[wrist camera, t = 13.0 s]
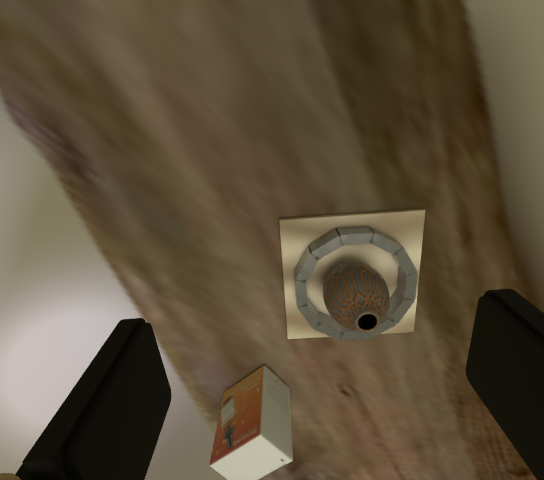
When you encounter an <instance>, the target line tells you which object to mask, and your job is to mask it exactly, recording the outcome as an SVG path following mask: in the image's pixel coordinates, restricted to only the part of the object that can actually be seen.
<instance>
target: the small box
mask: <svg viewBox="0 0 544 480" xmlns="http://www.w3.org/2000/svg"><path fill="white" fill-rule="evenodd" d="M292 461H293V454H292V433H291V411H290V389H289V387H288V386H287V385H286V384H285V383H284V382H282V381H281V380H280V379H279V378H278V377H277V376H276V375H275V374H274V373H273V372H271V371H270V370H269V369H268V368H267V367H266V366H265V365H263V366H261V367H260V368H259V369H257V370H256V371H255V372H253V373H252V374H250V375H249V376H247V377H246V378H244V379H243V380H241V381H240V382H238V383H237V384H235V385H234V386H232V387H231V388H229V389H227V390H226V391H224V393H223V398H222V403H221V408H220V413H219V418H218V424H217V429H216V434H215V439H214V445H213V449H212V455H211V460H210V466H211V467H212V468H213V469H215V470H216V471H217V472H219V473H220V474H221V475H222V476H224V477H225V478H226V479H228V480H258V479H260V478H262V477H263V476H265V475H267V474H269V473H270V472H272V471H274V470H276V469H278V468H279V467H281V466H283V465H285V464H288V463H289V462H292Z"/></svg>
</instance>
